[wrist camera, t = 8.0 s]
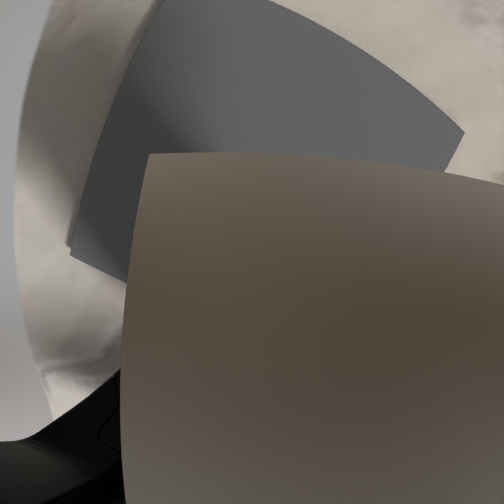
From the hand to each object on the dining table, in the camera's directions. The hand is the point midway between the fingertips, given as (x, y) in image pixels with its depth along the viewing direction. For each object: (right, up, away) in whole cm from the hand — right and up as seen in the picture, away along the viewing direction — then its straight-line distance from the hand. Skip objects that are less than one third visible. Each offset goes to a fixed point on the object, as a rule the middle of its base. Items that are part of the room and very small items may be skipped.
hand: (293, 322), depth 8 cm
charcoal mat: (-1, +5, +6) cm, 8 cm away
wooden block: (0, -3, +6) cm, 7 cm away
